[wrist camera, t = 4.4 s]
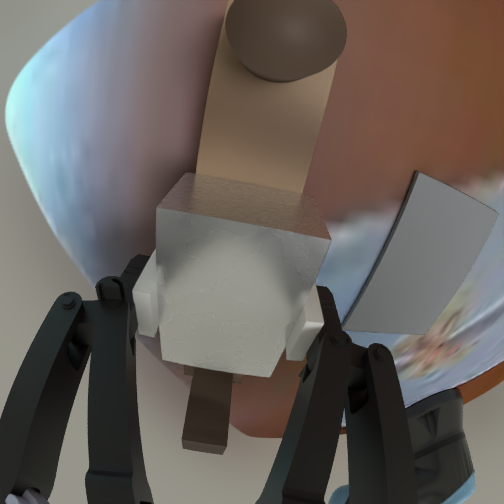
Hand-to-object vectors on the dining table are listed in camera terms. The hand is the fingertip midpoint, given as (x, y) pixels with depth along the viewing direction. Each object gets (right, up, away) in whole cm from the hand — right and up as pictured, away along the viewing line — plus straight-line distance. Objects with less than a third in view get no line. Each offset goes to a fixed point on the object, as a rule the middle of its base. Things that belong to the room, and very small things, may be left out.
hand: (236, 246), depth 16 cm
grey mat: (+15, -2, +2) cm, 15 cm away
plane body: (0, +1, +1) cm, 1 cm away
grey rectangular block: (0, -1, -1) cm, 2 cm away
